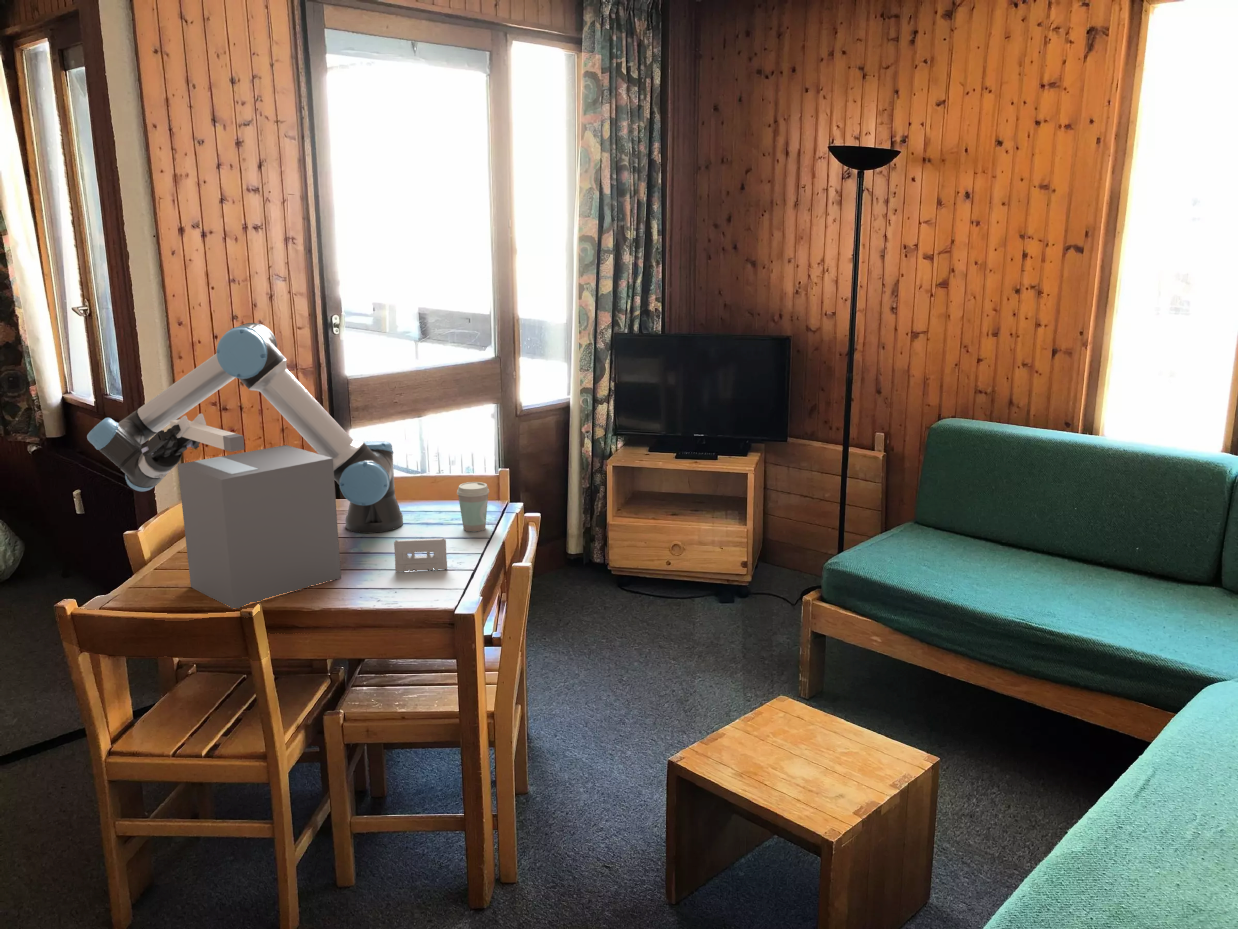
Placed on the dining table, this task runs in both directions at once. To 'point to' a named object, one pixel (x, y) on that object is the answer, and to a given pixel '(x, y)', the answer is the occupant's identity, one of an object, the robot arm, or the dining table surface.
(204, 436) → the bar
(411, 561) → the cassette
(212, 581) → the grey box
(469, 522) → the coffee cup
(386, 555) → the dining table surface
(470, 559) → the dining table surface
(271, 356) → the robot arm
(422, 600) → the dining table surface
